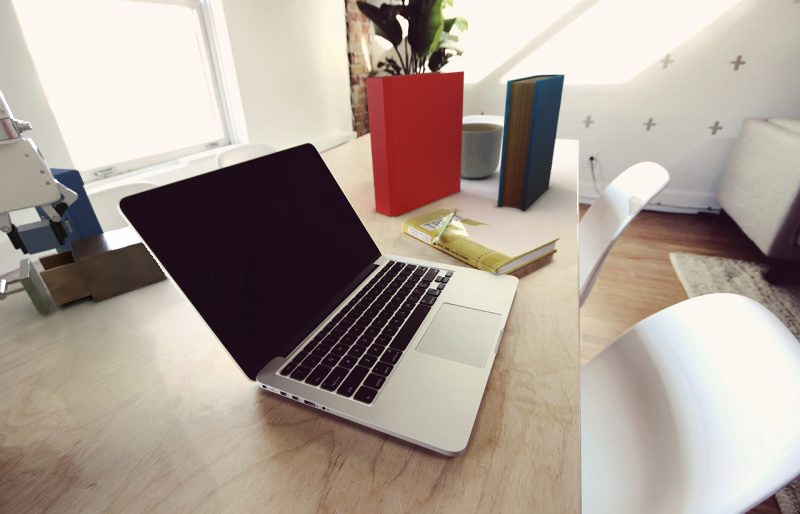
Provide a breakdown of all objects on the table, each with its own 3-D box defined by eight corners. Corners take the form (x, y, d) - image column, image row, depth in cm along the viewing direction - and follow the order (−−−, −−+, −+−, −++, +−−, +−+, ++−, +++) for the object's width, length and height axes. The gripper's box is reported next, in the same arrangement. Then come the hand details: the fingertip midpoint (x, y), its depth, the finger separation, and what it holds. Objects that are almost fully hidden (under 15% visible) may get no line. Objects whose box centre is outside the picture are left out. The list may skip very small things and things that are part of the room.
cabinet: (95, 302, 67) (74, 260, 63) (88, 281, 74) (69, 241, 70) (166, 278, 73) (151, 239, 69) (154, 261, 80) (140, 224, 76)
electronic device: (63, 269, 78) (13, 173, 69) (87, 258, 83) (44, 166, 73) (97, 274, 76) (50, 175, 67) (120, 262, 80) (80, 168, 71)
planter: (438, 173, 131) (438, 126, 124) (477, 165, 138) (479, 121, 131) (468, 185, 118) (470, 133, 111) (510, 176, 125) (514, 127, 118)
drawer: (7, 324, 60) (-16, 289, 57) (9, 301, 67) (-11, 267, 64) (114, 290, 69) (99, 257, 65) (107, 272, 75) (93, 241, 72)
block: (29, 255, 61) (17, 232, 60) (29, 247, 64) (17, 225, 62) (61, 247, 64) (49, 225, 62) (59, 240, 66) (49, 218, 65)
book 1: (439, 186, 118) (440, 71, 103) (460, 191, 113) (464, 71, 98) (373, 210, 102) (362, 78, 87) (393, 217, 96) (386, 78, 82)
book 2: (522, 182, 119) (533, 74, 105) (551, 185, 114) (567, 73, 100) (492, 206, 101) (500, 80, 87) (525, 211, 97) (540, 80, 83)
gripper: (57, 123, 63) (102, 226, 71) (-95, 139, 53) (-22, 256, 62) (59, 127, 58) (107, 238, 66) (-108, 146, 48) (-27, 272, 57)
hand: (44, 245), depth 64 cm, fingers closed on block, 4 cm apart
